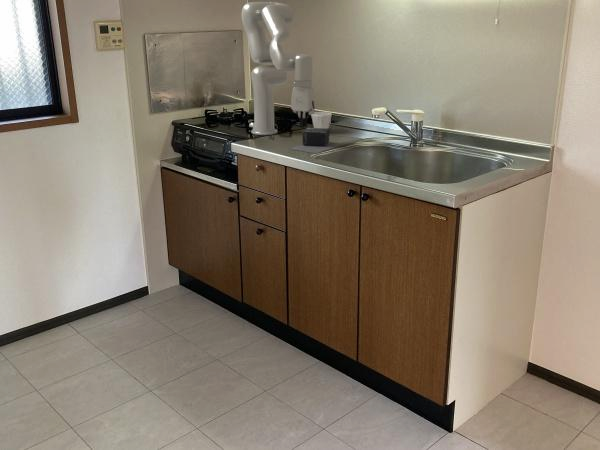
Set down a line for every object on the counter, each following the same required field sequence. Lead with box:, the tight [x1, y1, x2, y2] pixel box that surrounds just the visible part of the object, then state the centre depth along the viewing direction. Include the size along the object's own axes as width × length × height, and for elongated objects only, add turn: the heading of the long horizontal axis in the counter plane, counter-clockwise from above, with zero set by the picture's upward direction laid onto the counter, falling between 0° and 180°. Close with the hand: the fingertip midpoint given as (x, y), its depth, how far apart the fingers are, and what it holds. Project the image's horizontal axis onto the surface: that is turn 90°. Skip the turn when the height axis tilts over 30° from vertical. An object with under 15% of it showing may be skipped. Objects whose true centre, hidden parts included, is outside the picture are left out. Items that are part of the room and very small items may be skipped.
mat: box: [290, 141, 346, 155], centre depth 273 cm, size 14×22×1 cm, turn 143°
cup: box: [310, 111, 333, 129], centre depth 303 cm, size 10×10×9 cm
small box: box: [302, 127, 330, 146], centre depth 277 cm, size 11×6×10 cm
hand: (303, 126), depth 275 cm, fingers closed
